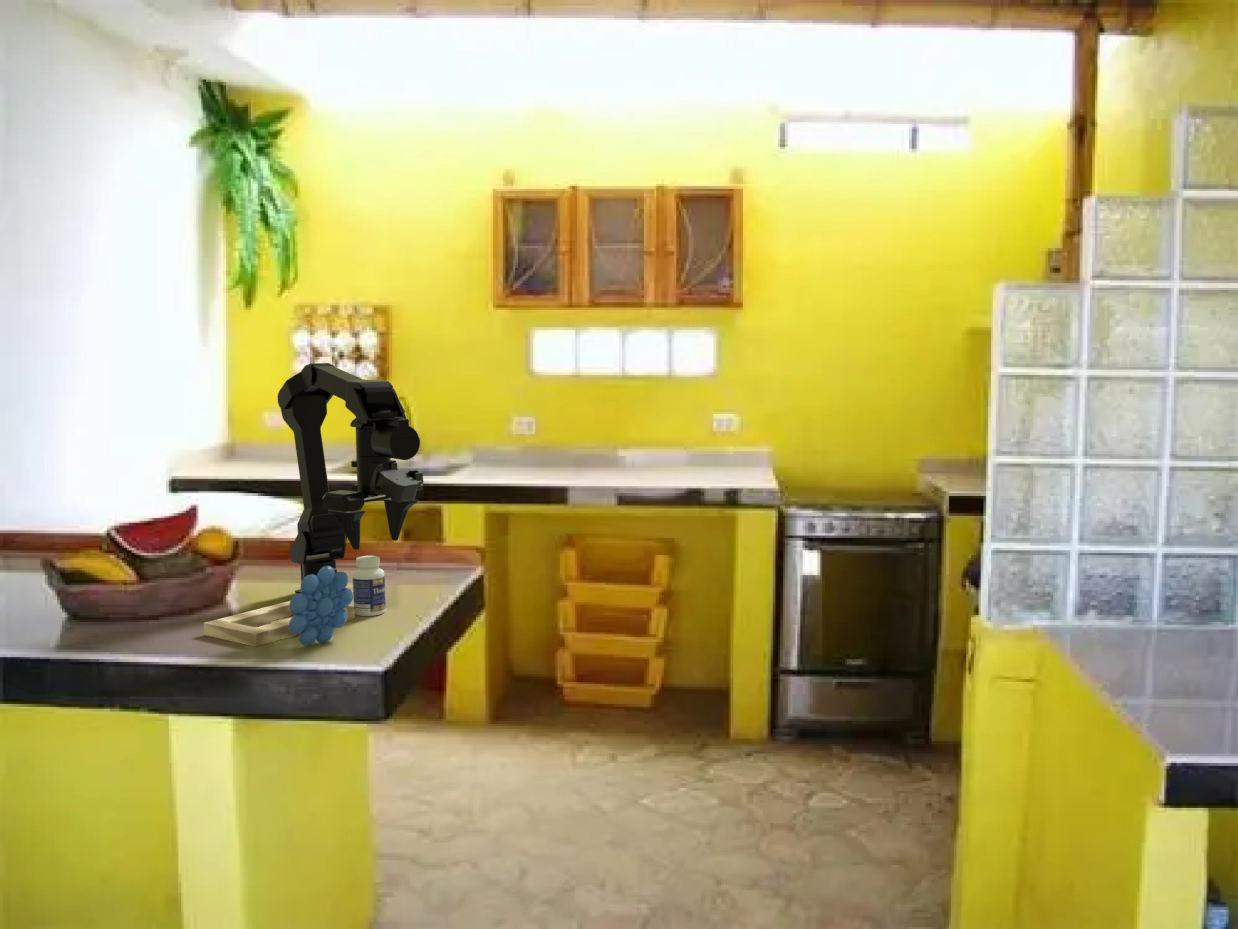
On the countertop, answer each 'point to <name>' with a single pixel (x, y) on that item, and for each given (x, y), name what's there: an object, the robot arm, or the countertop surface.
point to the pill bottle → (369, 587)
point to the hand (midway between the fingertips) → (376, 544)
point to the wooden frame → (245, 623)
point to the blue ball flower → (320, 606)
